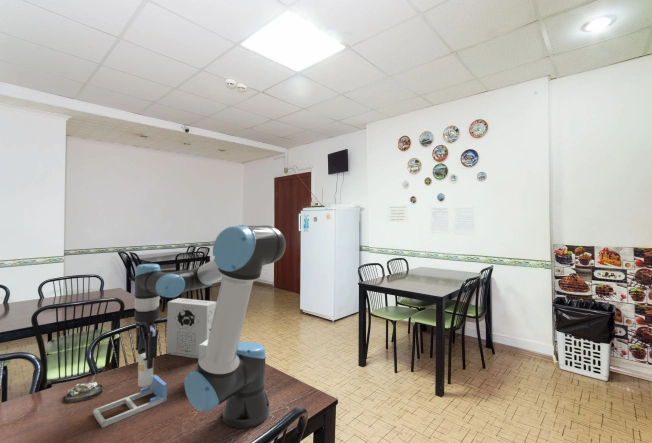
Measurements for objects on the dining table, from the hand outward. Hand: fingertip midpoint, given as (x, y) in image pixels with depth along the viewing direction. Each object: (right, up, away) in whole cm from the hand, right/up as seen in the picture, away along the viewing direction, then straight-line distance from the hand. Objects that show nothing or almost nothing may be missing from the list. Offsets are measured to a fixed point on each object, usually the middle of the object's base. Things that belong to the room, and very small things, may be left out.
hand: (145, 374), depth 109 cm
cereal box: (-1, -10, +39) cm, 40 cm away
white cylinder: (0, -3, 0) cm, 3 cm away
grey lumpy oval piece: (-24, -10, +4) cm, 26 cm away
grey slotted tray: (-3, -10, -3) cm, 11 cm away
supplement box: (+18, -10, +17) cm, 27 cm away
